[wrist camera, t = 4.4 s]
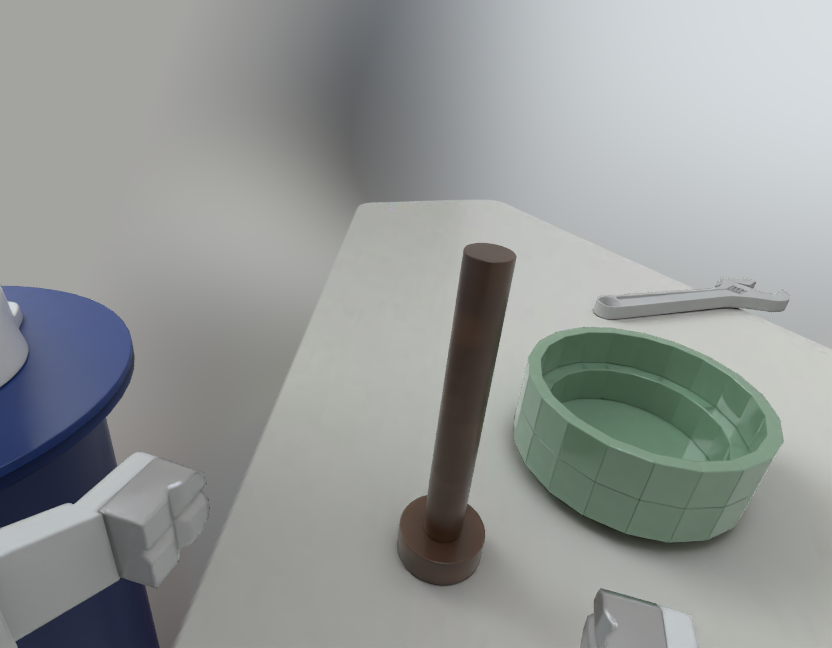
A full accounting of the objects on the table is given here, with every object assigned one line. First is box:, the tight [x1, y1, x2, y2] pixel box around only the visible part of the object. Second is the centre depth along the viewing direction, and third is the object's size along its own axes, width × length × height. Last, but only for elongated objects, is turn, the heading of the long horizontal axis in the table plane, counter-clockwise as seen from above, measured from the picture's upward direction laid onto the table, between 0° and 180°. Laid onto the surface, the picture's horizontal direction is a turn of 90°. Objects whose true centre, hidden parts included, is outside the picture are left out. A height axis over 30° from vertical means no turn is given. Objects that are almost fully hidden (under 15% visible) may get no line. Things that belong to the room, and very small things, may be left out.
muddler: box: [397, 243, 516, 585], centre depth 24 cm, size 4×4×17 cm
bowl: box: [514, 327, 783, 543], centre depth 34 cm, size 15×15×6 cm
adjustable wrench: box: [593, 278, 790, 319], centre depth 59 cm, size 25×6×2 cm, turn 104°
